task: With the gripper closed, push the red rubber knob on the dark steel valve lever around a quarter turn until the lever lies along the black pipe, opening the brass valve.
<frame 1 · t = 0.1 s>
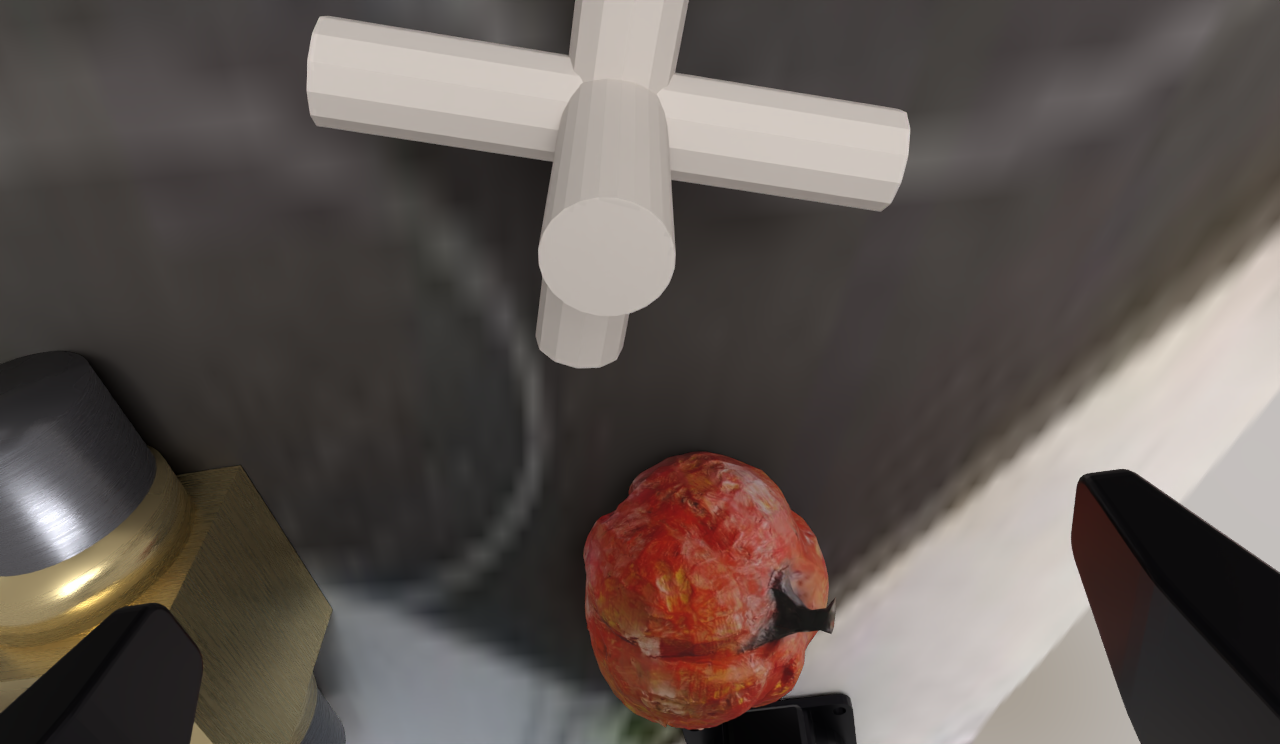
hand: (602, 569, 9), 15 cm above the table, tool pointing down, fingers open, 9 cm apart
valve: (190, 556, 31), on the table
pipe connector: (619, 19, 20), on the table
pomegranate: (689, 500, 30), on the table
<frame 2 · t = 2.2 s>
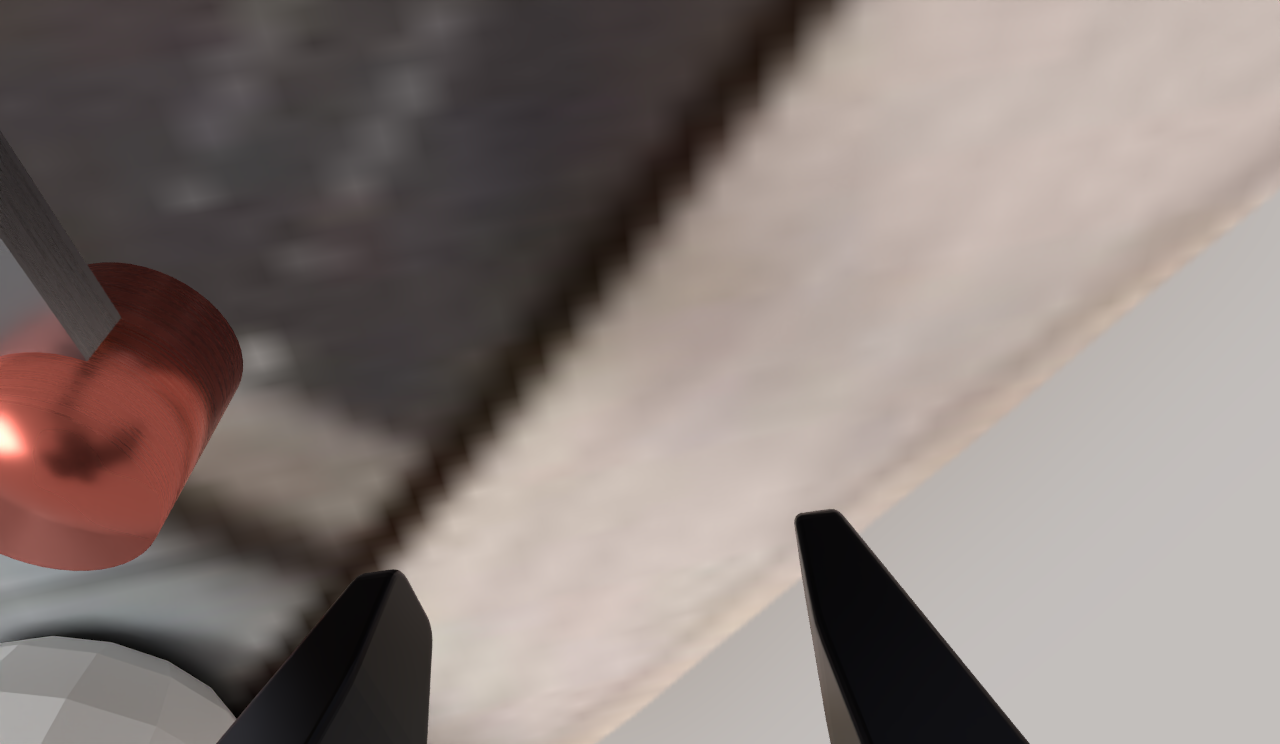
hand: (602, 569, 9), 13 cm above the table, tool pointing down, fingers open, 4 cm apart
cup: (112, 700, 33), on the table
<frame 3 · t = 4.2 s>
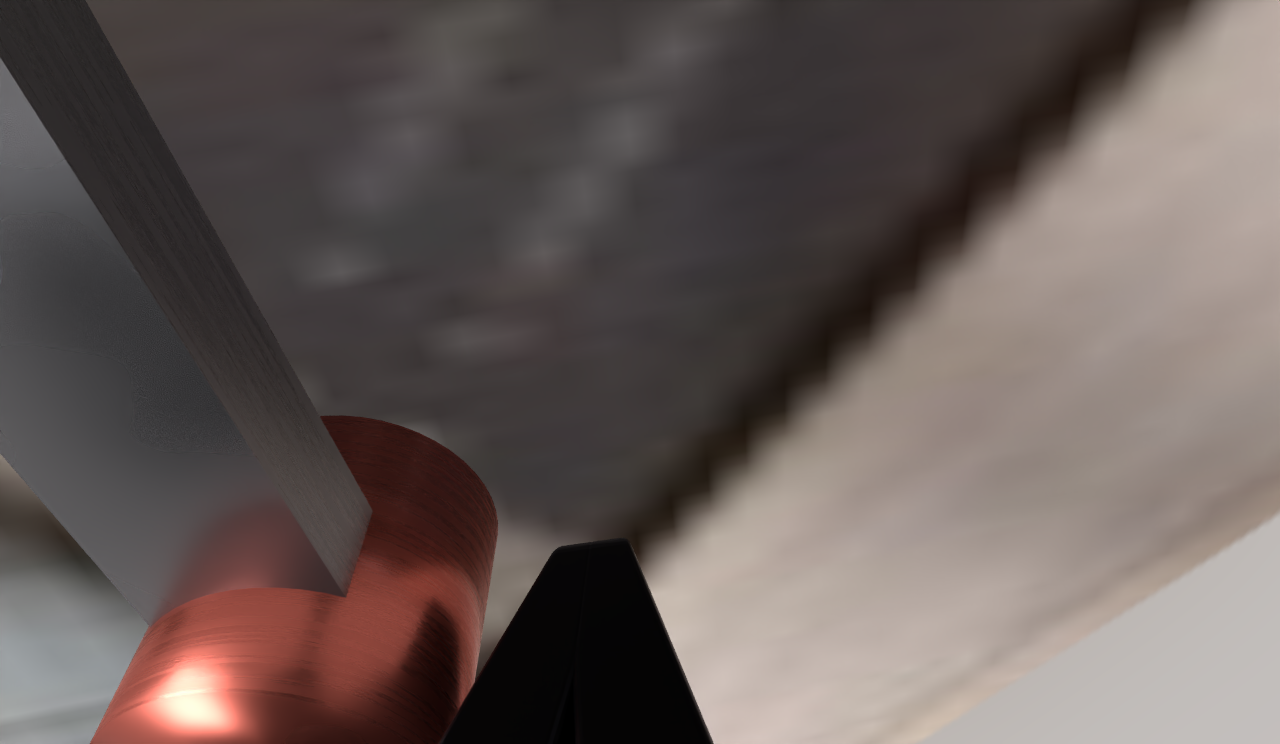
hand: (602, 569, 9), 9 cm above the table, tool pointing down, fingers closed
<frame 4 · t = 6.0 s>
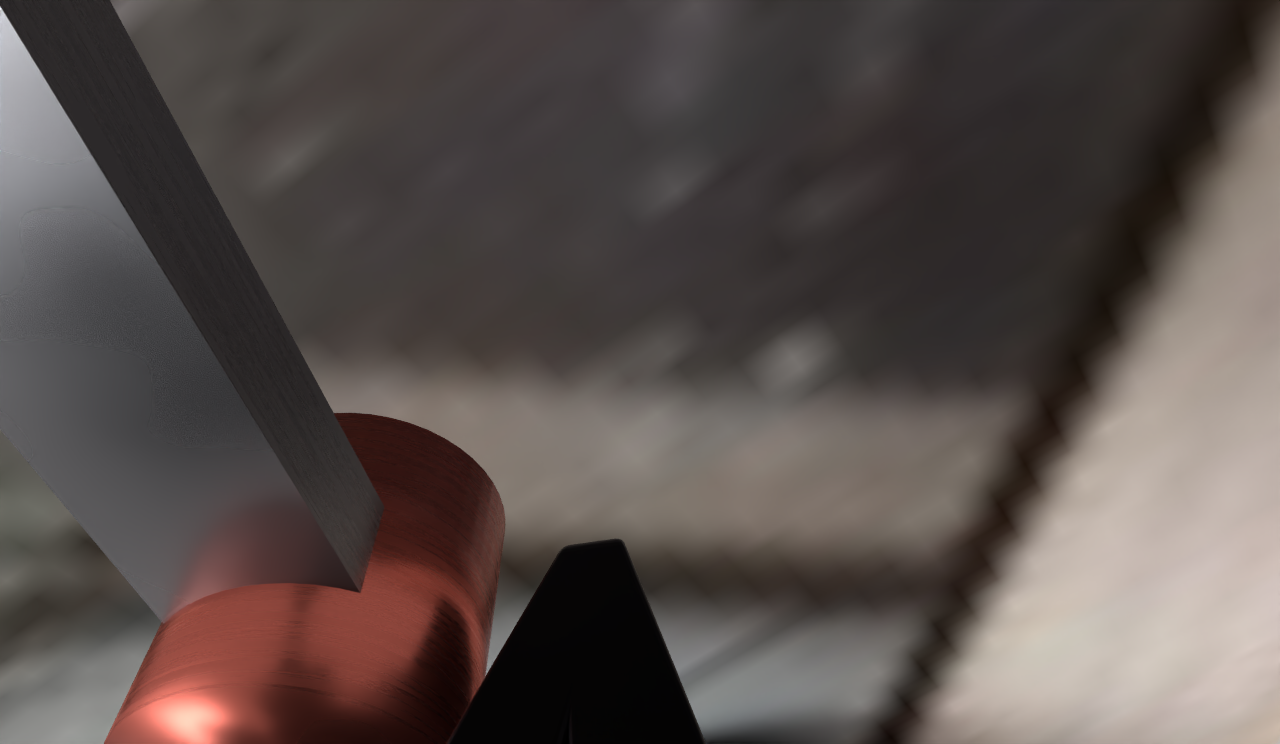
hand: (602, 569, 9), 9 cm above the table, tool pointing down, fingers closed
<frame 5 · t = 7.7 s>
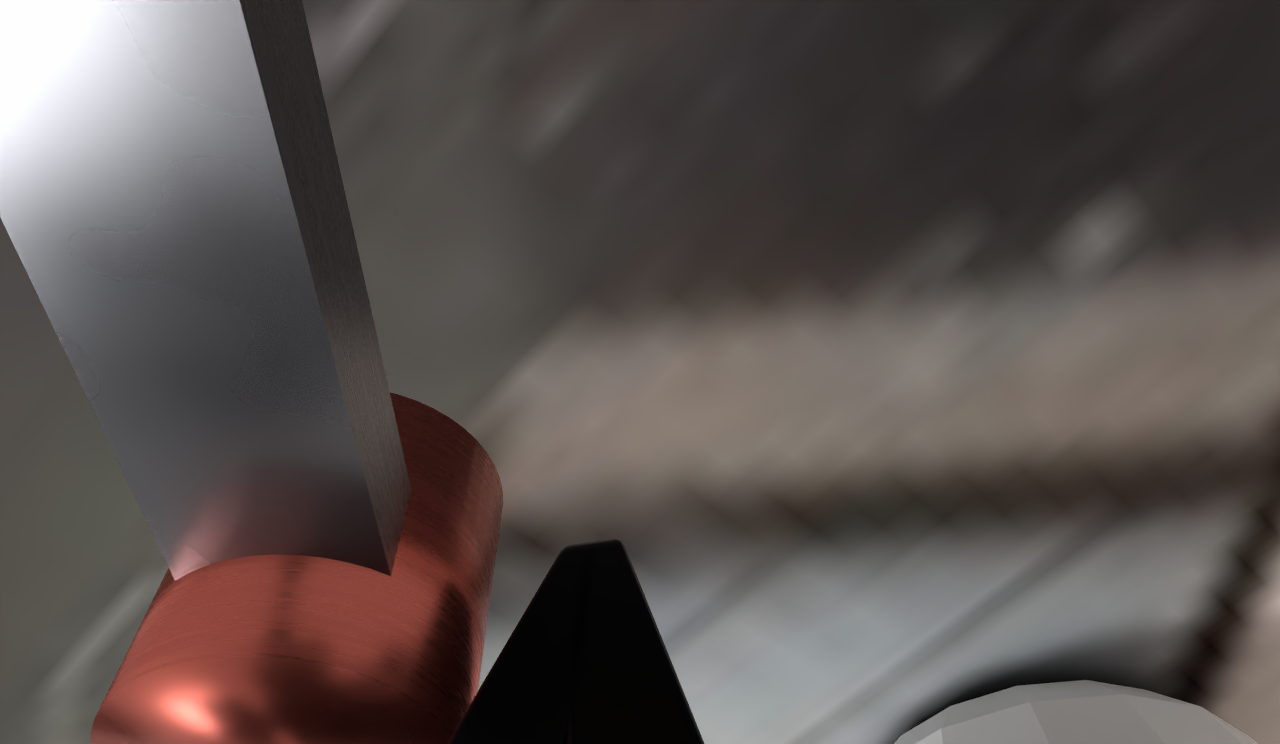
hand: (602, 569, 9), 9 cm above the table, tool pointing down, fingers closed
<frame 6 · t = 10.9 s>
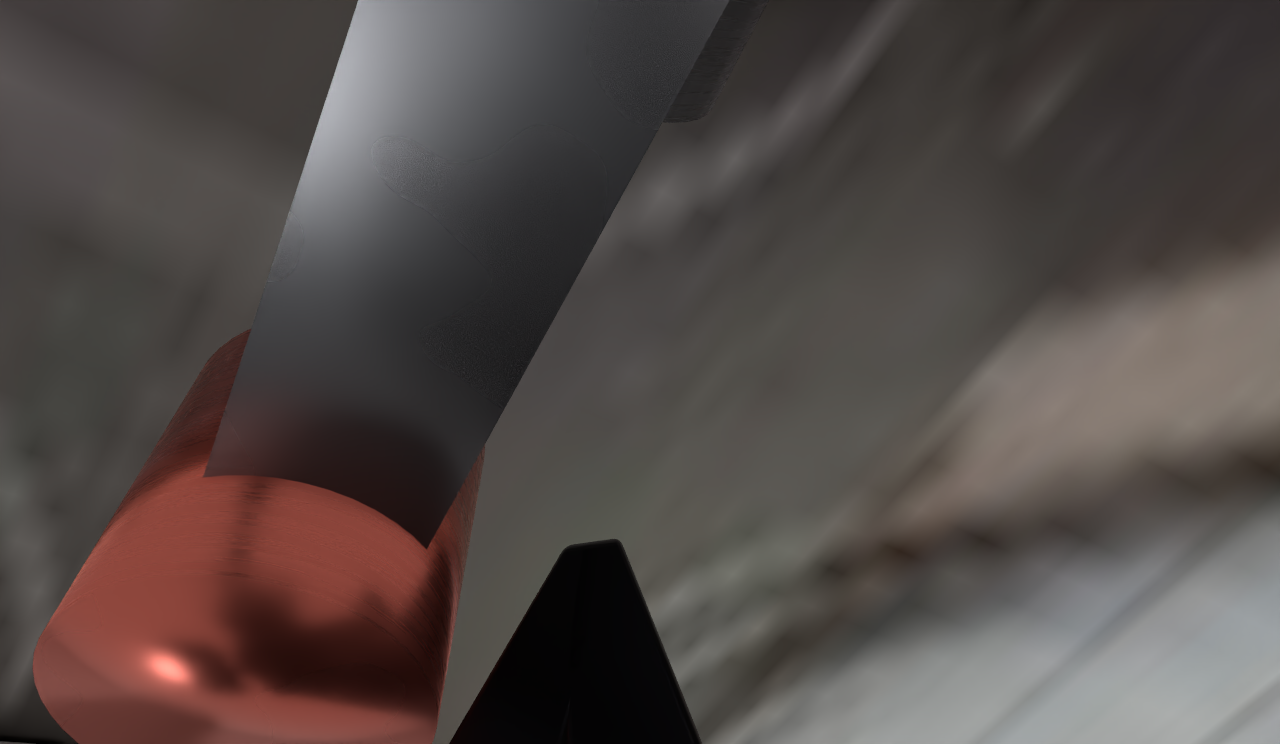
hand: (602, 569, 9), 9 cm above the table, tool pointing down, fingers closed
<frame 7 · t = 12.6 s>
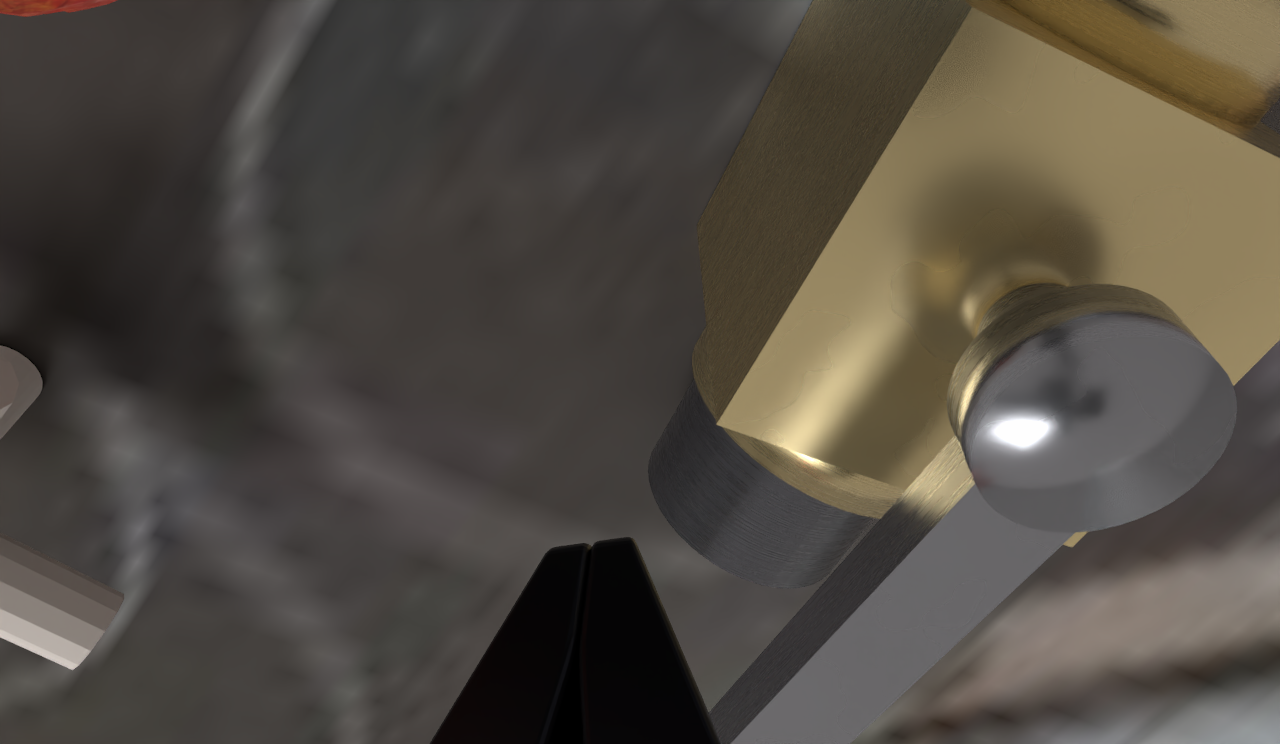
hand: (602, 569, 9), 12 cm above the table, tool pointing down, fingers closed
valve: (919, 146, 20), on the table
lever: (833, 662, 15), point 9 cm above the table, hinge at 92.7°
pipe connector: (7, 369, 23), on the table
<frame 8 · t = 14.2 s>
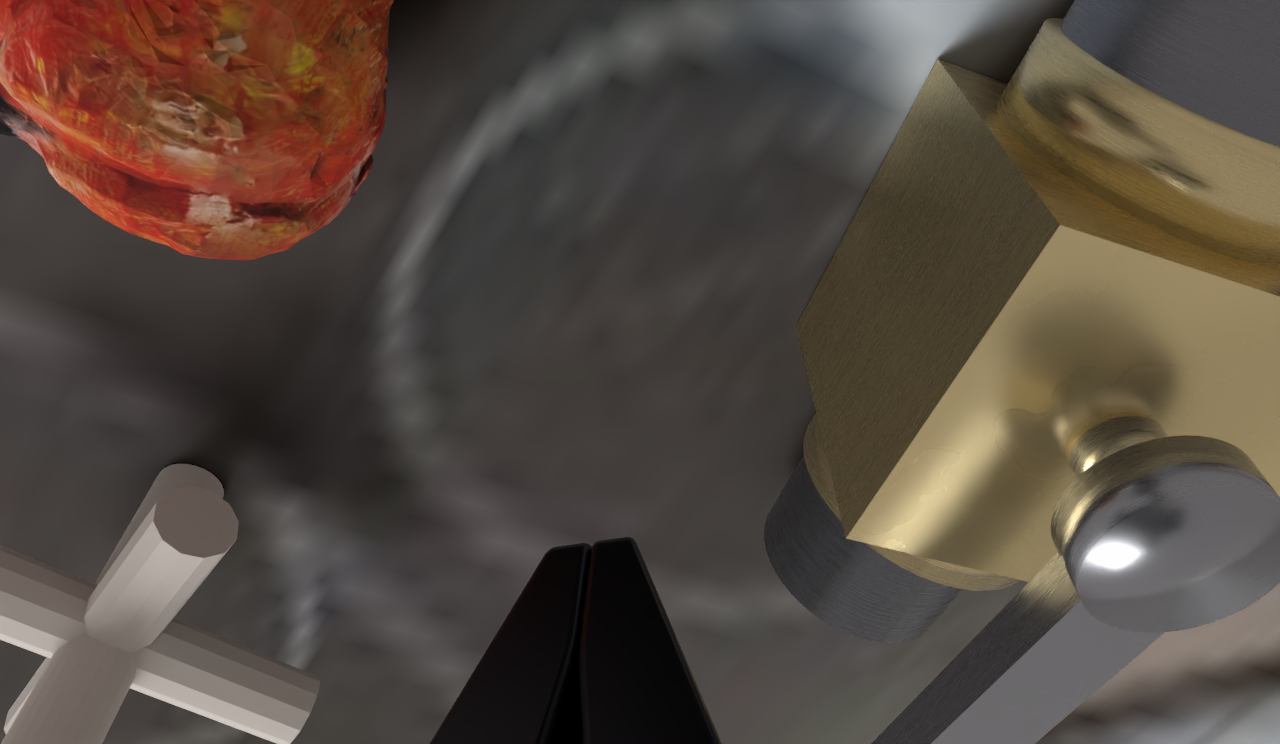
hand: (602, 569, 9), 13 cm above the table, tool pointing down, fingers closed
valve: (995, 248, 22), on the table
lever: (957, 729, 18), point 9 cm above the table, hinge at 92.7°
pipe connector: (193, 482, 27), on the table
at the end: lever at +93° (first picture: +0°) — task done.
